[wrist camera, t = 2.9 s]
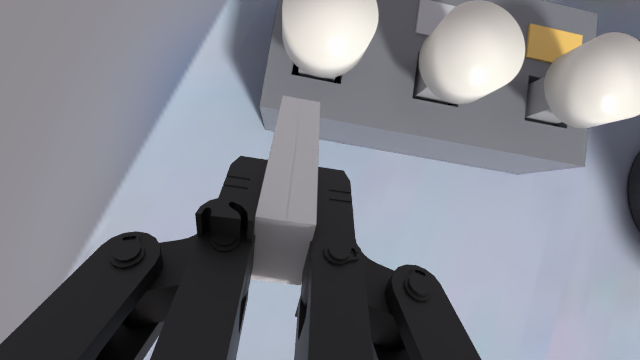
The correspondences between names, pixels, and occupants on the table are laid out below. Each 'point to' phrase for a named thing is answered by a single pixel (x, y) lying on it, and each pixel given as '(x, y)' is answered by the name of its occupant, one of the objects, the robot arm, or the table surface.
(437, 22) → the console
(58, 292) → the robot arm
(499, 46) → the button middle
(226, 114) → the table surface
